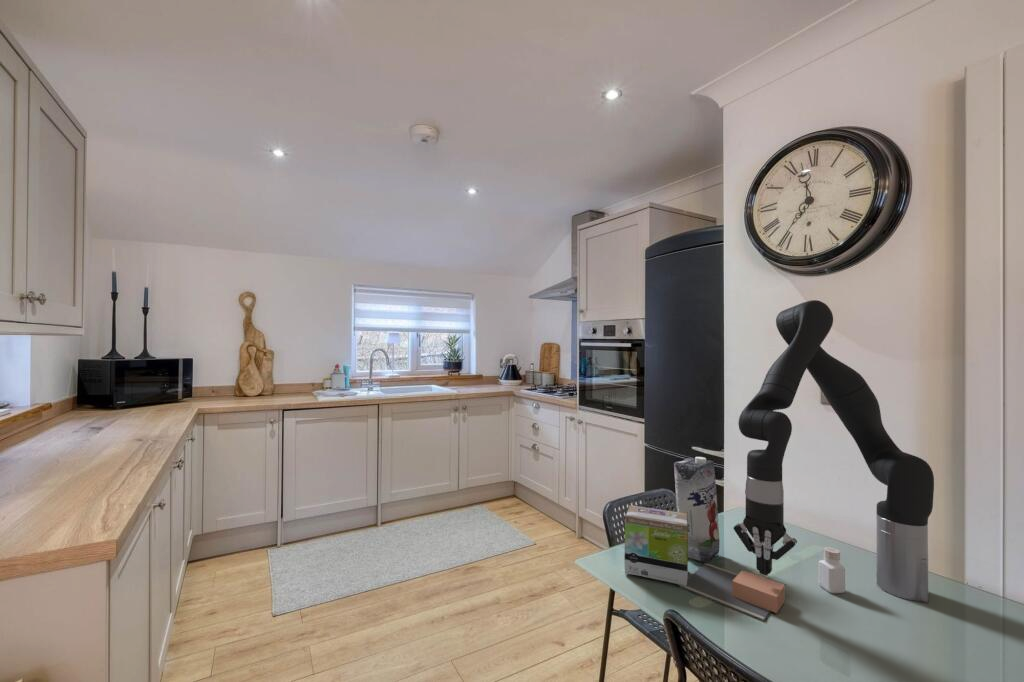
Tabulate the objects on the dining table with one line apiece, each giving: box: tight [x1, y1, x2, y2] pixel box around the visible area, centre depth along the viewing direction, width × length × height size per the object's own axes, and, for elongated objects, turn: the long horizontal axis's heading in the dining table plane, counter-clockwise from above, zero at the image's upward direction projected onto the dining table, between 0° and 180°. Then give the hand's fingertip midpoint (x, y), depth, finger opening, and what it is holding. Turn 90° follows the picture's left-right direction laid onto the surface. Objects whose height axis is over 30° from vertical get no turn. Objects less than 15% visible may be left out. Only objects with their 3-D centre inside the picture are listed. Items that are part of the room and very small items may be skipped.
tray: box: [679, 562, 771, 622], centre depth 103 cm, size 18×16×1 cm
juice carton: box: [673, 456, 721, 563], centre depth 121 cm, size 9×10×27 cm
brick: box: [732, 570, 786, 614], centre depth 98 cm, size 4×7×9 cm
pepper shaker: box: [818, 546, 846, 594], centre depth 103 cm, size 4×4×10 cm
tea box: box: [623, 504, 689, 586], centre depth 110 cm, size 15×10×15 cm
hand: (763, 573), depth 98 cm, fingers closed
